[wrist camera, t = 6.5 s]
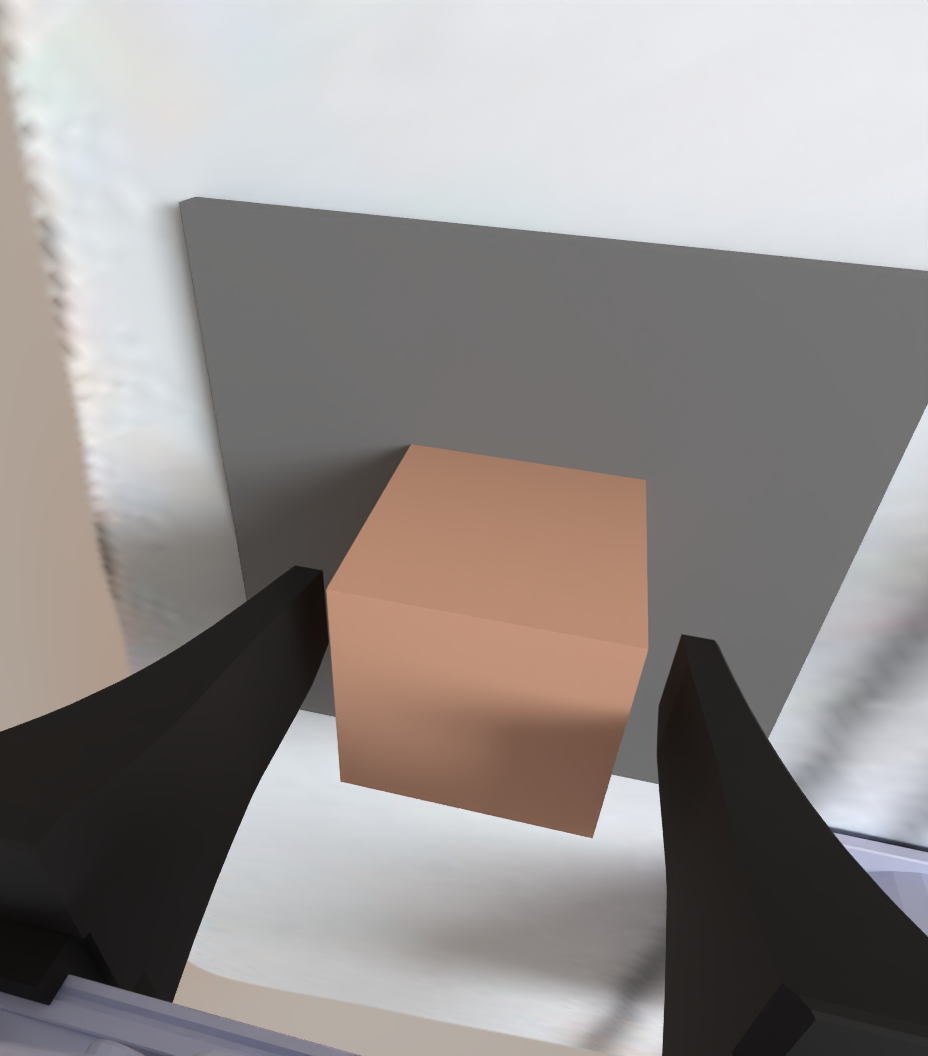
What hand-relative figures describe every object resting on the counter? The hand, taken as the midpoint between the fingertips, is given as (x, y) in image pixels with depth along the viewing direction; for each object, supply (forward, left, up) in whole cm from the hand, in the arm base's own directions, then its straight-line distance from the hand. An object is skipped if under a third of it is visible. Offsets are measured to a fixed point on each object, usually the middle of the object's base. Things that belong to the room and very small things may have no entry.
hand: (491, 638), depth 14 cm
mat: (0, 0, -3) cm, 3 cm away
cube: (0, 0, -3) cm, 3 cm away
